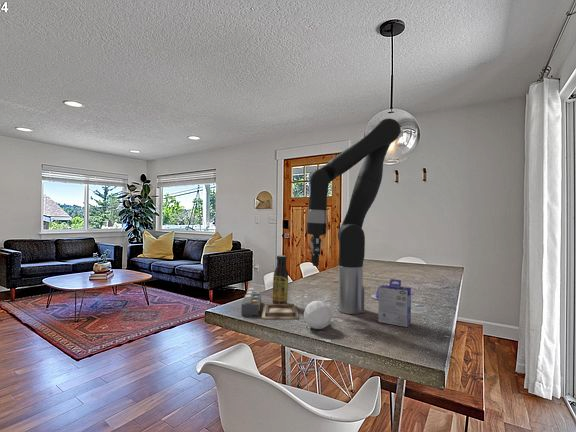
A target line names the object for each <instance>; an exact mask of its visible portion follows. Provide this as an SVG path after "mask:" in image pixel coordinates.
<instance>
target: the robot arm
mask: <svg viewBox="0 0 576 432" xmlns="http://www.w3.org/2000/svg"><path fill="white" fill-rule="evenodd" d="M400 134H401V125H400V123H399V122H398V121H397V120H396V119H394V118H384V119H382V120H380V121H379V122H377V123H376V125H375V126H374V127H373V128H372V130H371V131H370V132H369V133H368V134H367V135H365V136H364V137H363V138H361V139H360V140H359V141H357V142H355V143H354V144H352V145H351V146H349V147H348V148H346V149H344V150H343V151H342V152H340V153H338V154H337V155H335V156H333V158H332V159H330V160H329V161H328V162H327V164H325V165H323V166H322V167H320V168H318V169H315V170H314V171H313V172H312V173H310V174H311V175H310V176H309V180H308V181H309V185H310V186H309V187H310V188H309V190H310V191H309V192H310V194H309V198H308V207H307V209H308V210H307V217H306V234H307V235H312V236H311V238H310V252H311V260H310V262H311V263H312V266H313V267H319V263H320V255H321V249H322V239H321V236H325V235H326V234H327V223H328V213H327V207H328V193H329V192H328V191H329V187H330V186H329V185H330V183H332V181H334V180H335V179H336V178H338V177H340V176H341V175H343V174H345V173H346V172H348V171H349V170H350V169H352V168H353V167H354V166H356V165H357V164H358V163H359V162H360V161H362V160H363V159H364V160H363V161H362V164H361V167H360V169H359V172H358V174H357V178H356V180H355V182H354V186H353V190H352V194H351V197H350V200H349V204H348V207H347V211H346V214H345V216H344V219H343V221H342V223H341V224H340V227H339V229H338V231H337V239H338V242H339V257H338V291H337V292H338V293H337V294H338V296H337V297H338V300H337V301H338V306H337V307H338V311H339V312H340V313H343V314H350V315H356V314H361V313H362V314H364V313H365V287H364V260H365V256H366V255H365V252H366V250H365V249H366V248H365V247H366V246H365V245H366V236H365V231H364V230H363V225H364V221H365V217H366V216H367V213H368V212H369V210H370V209H371V206H372V204H373V203H374V201H375V200H376V198H377V195H378V192H379V189H380V186H381V184H382V180H383V173H384V171H383V170H384V163H385V162H384V161H385V157H386V155H387V153H388V150H389V148H390V146H391V145H392V144H393V142H395V141H396V140H397V139H398V138H399V136H400Z"/></svg>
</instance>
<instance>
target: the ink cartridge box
mask: <svg viewBox="0 0 576 432" xmlns="http://www.w3.org/2000/svg"><path fill="white" fill-rule="evenodd" d="M393 282H396V283H393ZM379 286H380V287H379ZM379 286H378V287H379V299H378V303H377V304H378V305H377V306H378V307H377V309H378V312H377V313H378V314H377V315H378V316H377V317H378V318H377V322H378V323H382V324H389V325H393V326H394V325H395V326H398V327H403V328H404V327H405V328H408V327H409V326H410V325H411V324H412V305H411V304H412V297H411V296H412V287H408V286H406V287H405V286H402V280H401V279H394V278H393V279H392V278H391V279H390V281H389V285H387V284H382V285H379Z"/></svg>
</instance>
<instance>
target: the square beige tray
mask: <svg viewBox="0 0 576 432" xmlns="http://www.w3.org/2000/svg"><path fill="white" fill-rule="evenodd" d="M299 319H300V317H299V312H298V307H297V306H295V305H294V303H286V304H273V303H267V304H266V305H265V306H263V309H262V313H261V320H299Z"/></svg>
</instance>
